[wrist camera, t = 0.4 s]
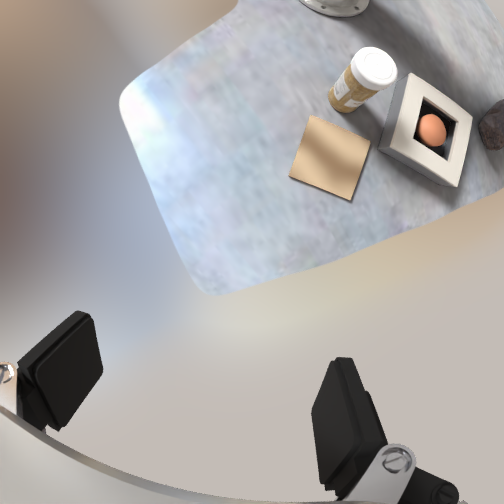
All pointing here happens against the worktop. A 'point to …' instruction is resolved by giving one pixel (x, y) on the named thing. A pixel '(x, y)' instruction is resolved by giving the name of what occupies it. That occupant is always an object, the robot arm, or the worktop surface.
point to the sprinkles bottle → (362, 79)
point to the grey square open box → (404, 123)
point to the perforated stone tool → (493, 127)
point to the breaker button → (431, 130)
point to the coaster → (330, 157)
